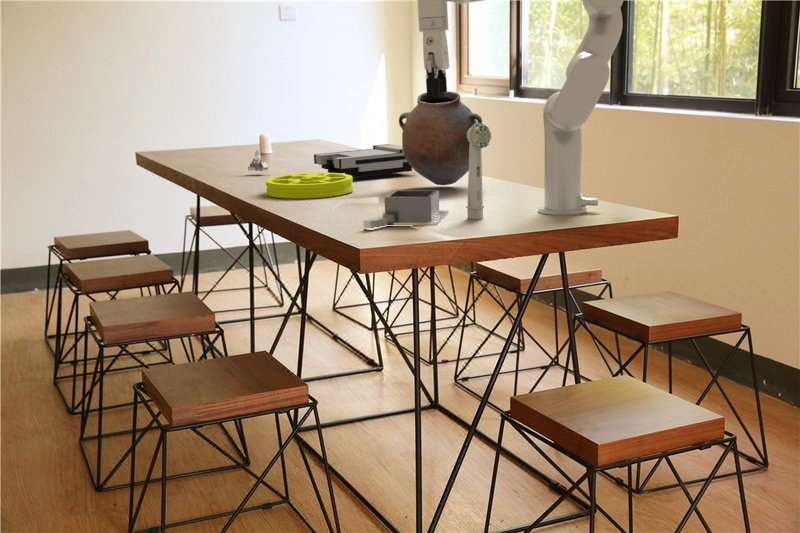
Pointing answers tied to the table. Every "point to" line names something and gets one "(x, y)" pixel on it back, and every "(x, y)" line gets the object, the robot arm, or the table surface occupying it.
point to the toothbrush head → (476, 169)
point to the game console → (365, 161)
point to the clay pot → (438, 137)
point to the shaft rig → (410, 209)
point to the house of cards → (258, 164)
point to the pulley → (309, 185)
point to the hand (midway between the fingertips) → (437, 93)
